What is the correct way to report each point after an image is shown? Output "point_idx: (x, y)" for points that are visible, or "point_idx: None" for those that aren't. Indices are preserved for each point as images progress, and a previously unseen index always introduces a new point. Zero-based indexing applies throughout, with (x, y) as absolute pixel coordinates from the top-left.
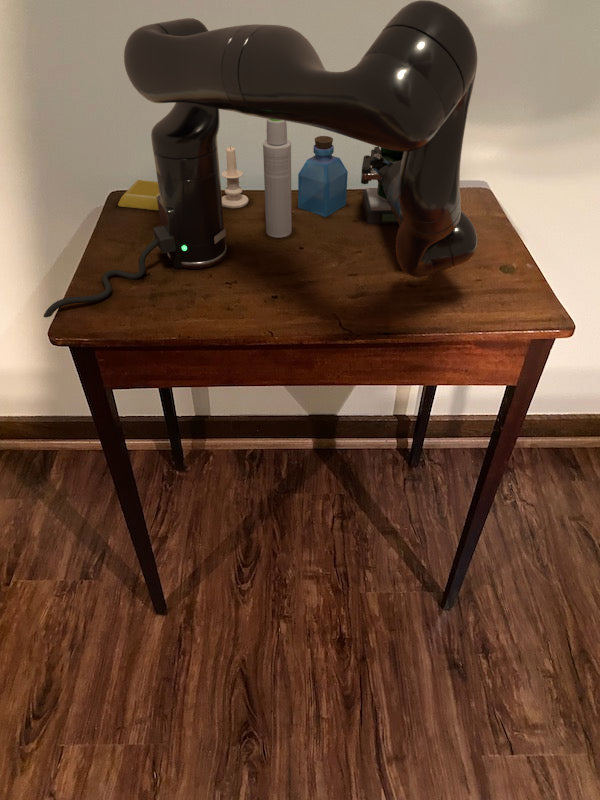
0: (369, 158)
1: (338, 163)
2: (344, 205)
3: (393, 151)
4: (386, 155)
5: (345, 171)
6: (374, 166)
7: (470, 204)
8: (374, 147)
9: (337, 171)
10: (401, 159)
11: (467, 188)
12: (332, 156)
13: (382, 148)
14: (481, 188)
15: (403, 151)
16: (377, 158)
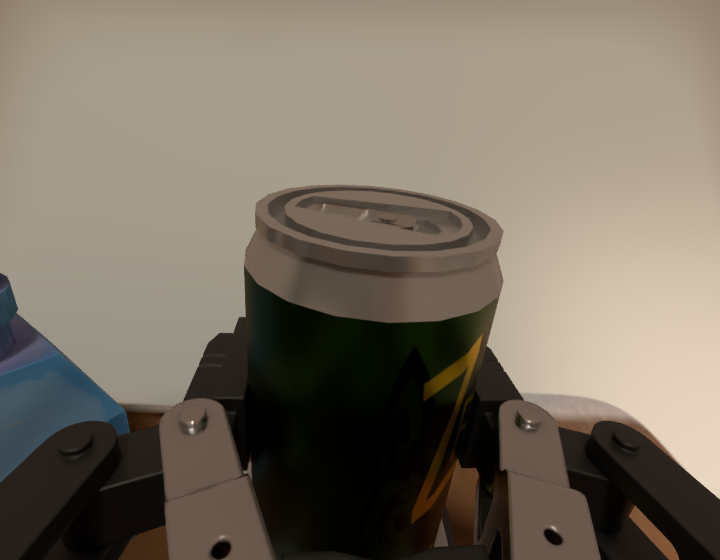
0: (68, 482)
1: (42, 385)
2: (136, 534)
3: (323, 413)
4: (271, 423)
5: (106, 415)
6: (157, 516)
7: (663, 535)
8: (240, 319)
9: (23, 433)
10: (394, 471)
11: (595, 422)
12: (34, 339)
13: (248, 359)
14: (636, 424)
15: (414, 418)
16: (163, 474)
